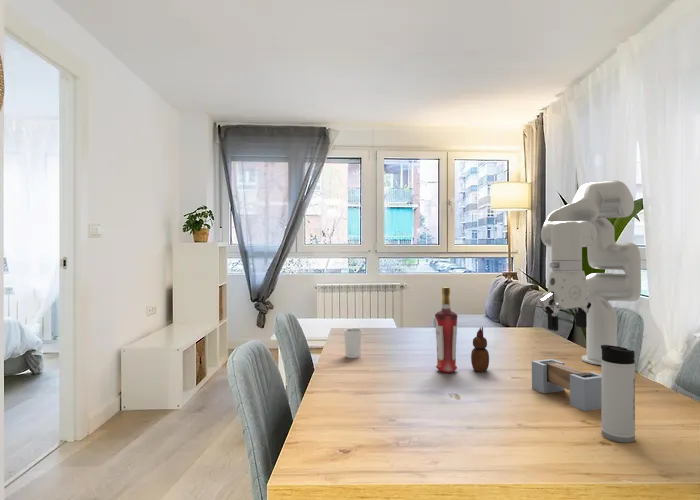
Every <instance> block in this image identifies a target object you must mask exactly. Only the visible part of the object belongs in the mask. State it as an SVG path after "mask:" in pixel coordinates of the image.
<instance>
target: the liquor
mask: <svg viewBox="0 0 700 500" xmlns="http://www.w3.org/2000/svg"><path fill="white" fill-rule="evenodd" d="M441 294H442V295H441V296H442V301H441V310H439V311H437V312H436V313H435V314H434V320H435V322H434V323H435V338H436V360H437V362H436V363H437V364H436V366H435V368H436V369H437V370H438V371H439V372H440V373H444V374H452V373H454V372H455V371H456V370H457V369H458V366H457V364H456V363H457V361H456V360H457V358H456V356H457V355H456V354H457V337H458V336H457V334H458V333H457V332H458V314H457V313H456V312H454V311H452V310H451V309H452V308H451V301H450V295H451V287H449V286H443V287H441Z"/></svg>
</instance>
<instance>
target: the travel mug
mask: <svg viewBox="0 0 700 500" xmlns="http://www.w3.org/2000/svg"><path fill="white" fill-rule="evenodd" d="M601 349H602V359H601V361H602V363H601V365H600V366H601V367H600V368H601V371H600V372H601V374H600V375H601V384H602V409H601V435H602V436H603V437H604V438H606V439H607V440H610V441H613V442H617V443H622V444H626V443H627V444H628V443H632V442H635V440H636V366H635V365H636V361H635V353H636V352H635V350H630V349H628V348H627V347H626V348H625V347H623V346H618V345H617V346H611V345H601Z"/></svg>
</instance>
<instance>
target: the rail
mask: <svg viewBox="0 0 700 500" xmlns="http://www.w3.org/2000/svg"><path fill="white" fill-rule="evenodd" d="M543 364H546V365H547V381H548V382H550V383H553V384H555V385H558V386H560V387H563V388H565V389H566V390H568V391H570V374H575V375H578V376H581V377H583V378H587V377H592V374H589V373H588V372H586V371H582V370H580V369H577V368H573V367H570V366H567V365H565V364H564V365H562V364H559V363H556V362H553V361H552V362H543Z"/></svg>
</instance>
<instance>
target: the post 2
mask: <svg viewBox="0 0 700 500" xmlns="http://www.w3.org/2000/svg"><path fill="white" fill-rule="evenodd" d="M587 373H589V374H592V377H587V378H583V377H581V376H578V375H575V374H570V390H569V406H572V407H574V408H576V409H578V410H581V411H584V412H587V411H596V410H602V384H601V374H600V373H597V372H594V371H588V372H587Z"/></svg>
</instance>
